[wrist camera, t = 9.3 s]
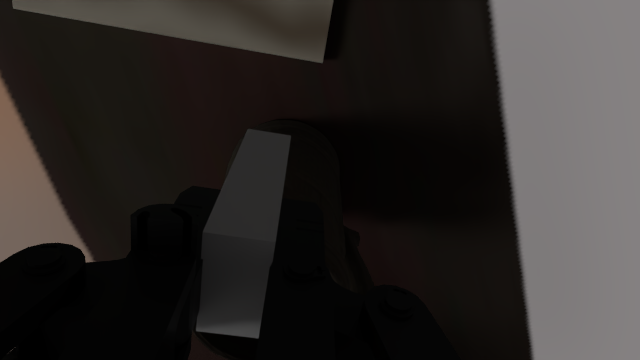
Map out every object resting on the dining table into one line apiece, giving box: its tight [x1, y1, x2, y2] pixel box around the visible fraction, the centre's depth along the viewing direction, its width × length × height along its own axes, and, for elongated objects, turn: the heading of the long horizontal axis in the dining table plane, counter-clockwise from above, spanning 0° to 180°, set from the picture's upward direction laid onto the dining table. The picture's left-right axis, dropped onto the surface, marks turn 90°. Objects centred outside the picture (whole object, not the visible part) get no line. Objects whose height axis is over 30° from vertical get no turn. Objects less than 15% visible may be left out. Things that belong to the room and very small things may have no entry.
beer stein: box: [192, 120, 374, 360], centre depth 34 cm, size 15×11×20 cm
